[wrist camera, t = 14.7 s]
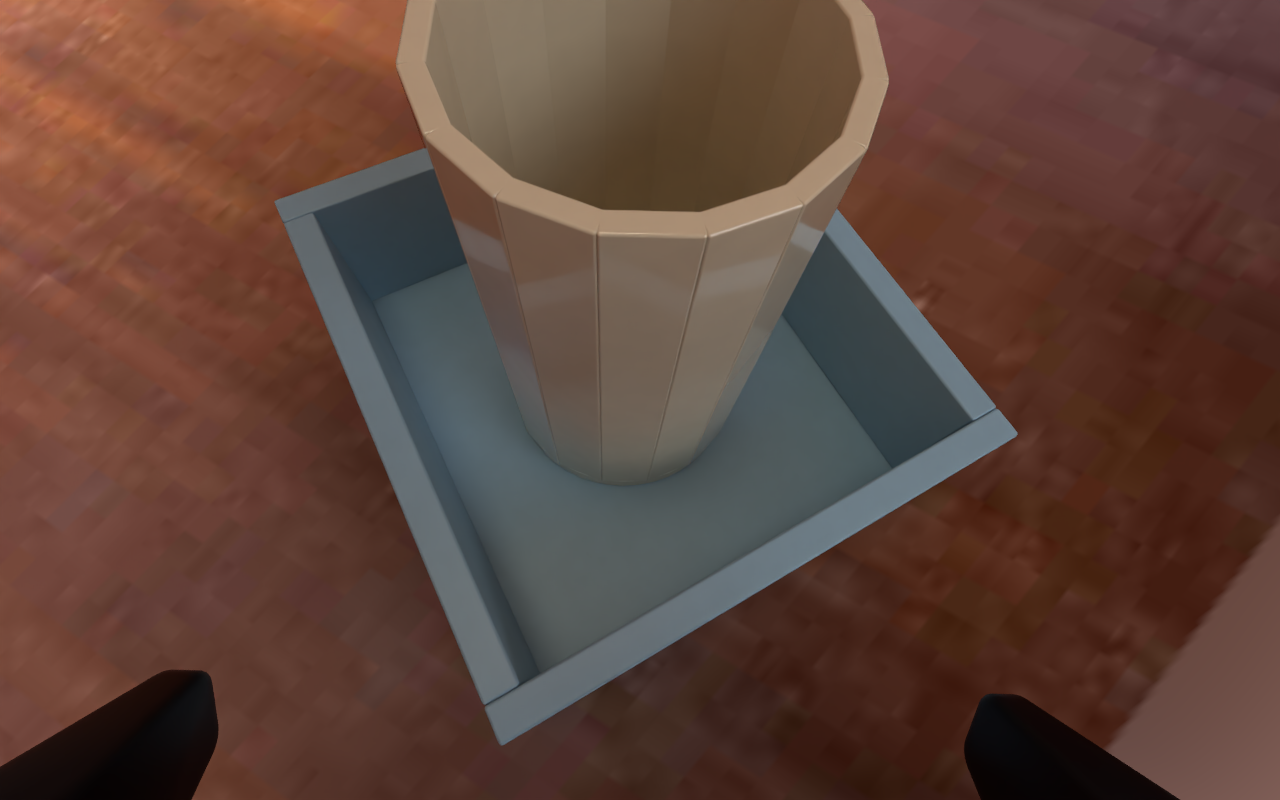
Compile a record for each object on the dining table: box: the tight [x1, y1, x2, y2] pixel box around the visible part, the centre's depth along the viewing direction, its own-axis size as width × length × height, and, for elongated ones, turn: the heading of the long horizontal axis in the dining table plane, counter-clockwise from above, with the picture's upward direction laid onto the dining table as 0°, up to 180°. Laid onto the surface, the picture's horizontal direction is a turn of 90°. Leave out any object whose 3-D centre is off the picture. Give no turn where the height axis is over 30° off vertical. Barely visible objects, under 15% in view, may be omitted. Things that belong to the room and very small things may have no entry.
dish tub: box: [275, 148, 1018, 745], centre depth 18 cm, size 15×14×5 cm
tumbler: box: [396, 0, 889, 486], centre depth 14 cm, size 7×7×12 cm
